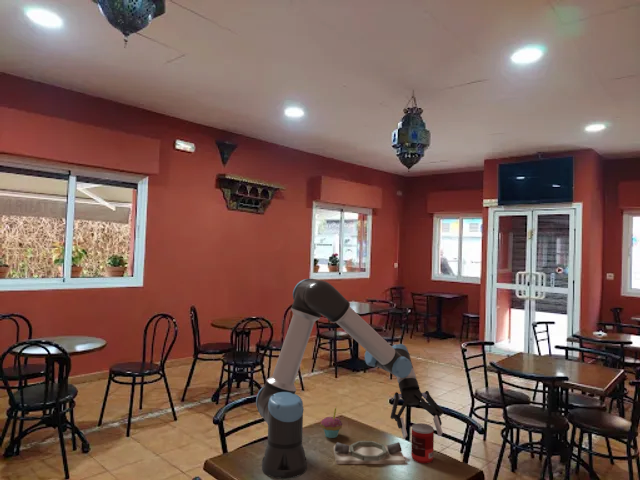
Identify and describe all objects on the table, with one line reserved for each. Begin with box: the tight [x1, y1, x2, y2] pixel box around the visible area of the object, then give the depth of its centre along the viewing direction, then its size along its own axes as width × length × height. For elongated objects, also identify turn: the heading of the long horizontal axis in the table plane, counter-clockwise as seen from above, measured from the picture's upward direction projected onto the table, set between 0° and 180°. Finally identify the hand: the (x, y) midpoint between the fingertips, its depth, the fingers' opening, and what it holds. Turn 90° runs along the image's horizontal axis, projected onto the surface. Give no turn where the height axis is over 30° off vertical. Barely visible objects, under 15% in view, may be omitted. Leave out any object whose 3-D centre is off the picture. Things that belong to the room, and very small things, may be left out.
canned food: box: [410, 422, 435, 464], centre depth 158 cm, size 8×8×11 cm
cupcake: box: [320, 407, 343, 439], centre depth 176 cm, size 9×8×12 cm
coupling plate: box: [333, 440, 406, 465], centre depth 159 cm, size 24×13×5 cm, turn 93°
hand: (423, 435), depth 160 cm, fingers open, 13 cm apart
